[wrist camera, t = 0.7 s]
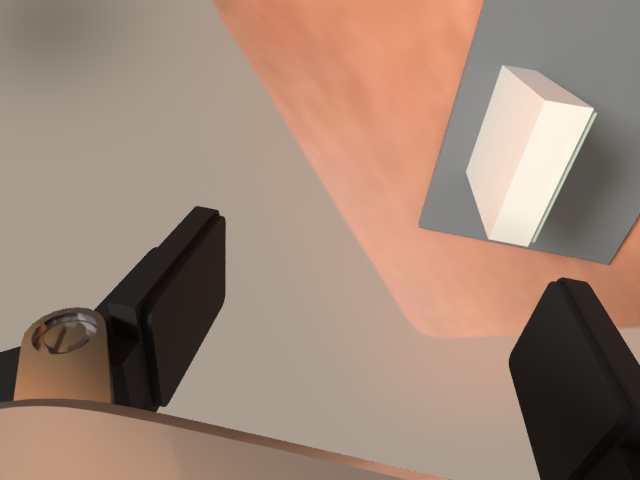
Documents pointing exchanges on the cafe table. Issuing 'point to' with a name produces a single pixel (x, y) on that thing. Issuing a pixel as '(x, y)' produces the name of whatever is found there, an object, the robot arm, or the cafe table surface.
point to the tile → (525, 153)
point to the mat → (580, 80)
